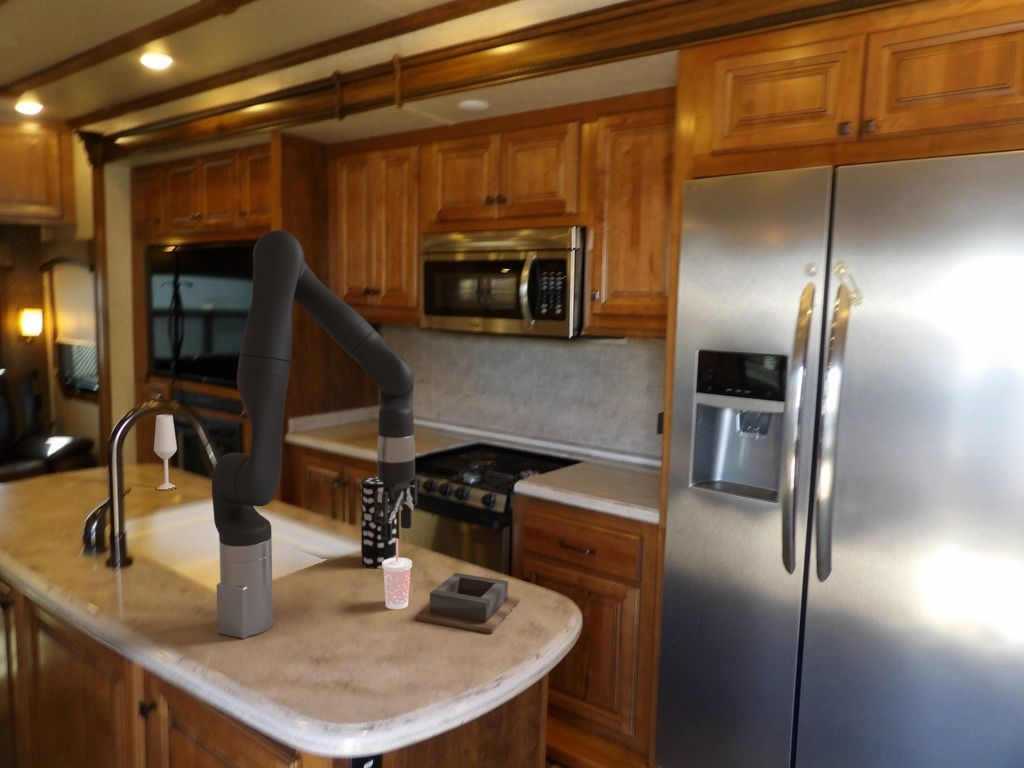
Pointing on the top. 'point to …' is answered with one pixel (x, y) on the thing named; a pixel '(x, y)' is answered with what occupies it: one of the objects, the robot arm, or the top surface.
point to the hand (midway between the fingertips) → (396, 534)
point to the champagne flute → (165, 443)
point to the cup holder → (469, 603)
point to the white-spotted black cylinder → (374, 527)
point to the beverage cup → (396, 581)
